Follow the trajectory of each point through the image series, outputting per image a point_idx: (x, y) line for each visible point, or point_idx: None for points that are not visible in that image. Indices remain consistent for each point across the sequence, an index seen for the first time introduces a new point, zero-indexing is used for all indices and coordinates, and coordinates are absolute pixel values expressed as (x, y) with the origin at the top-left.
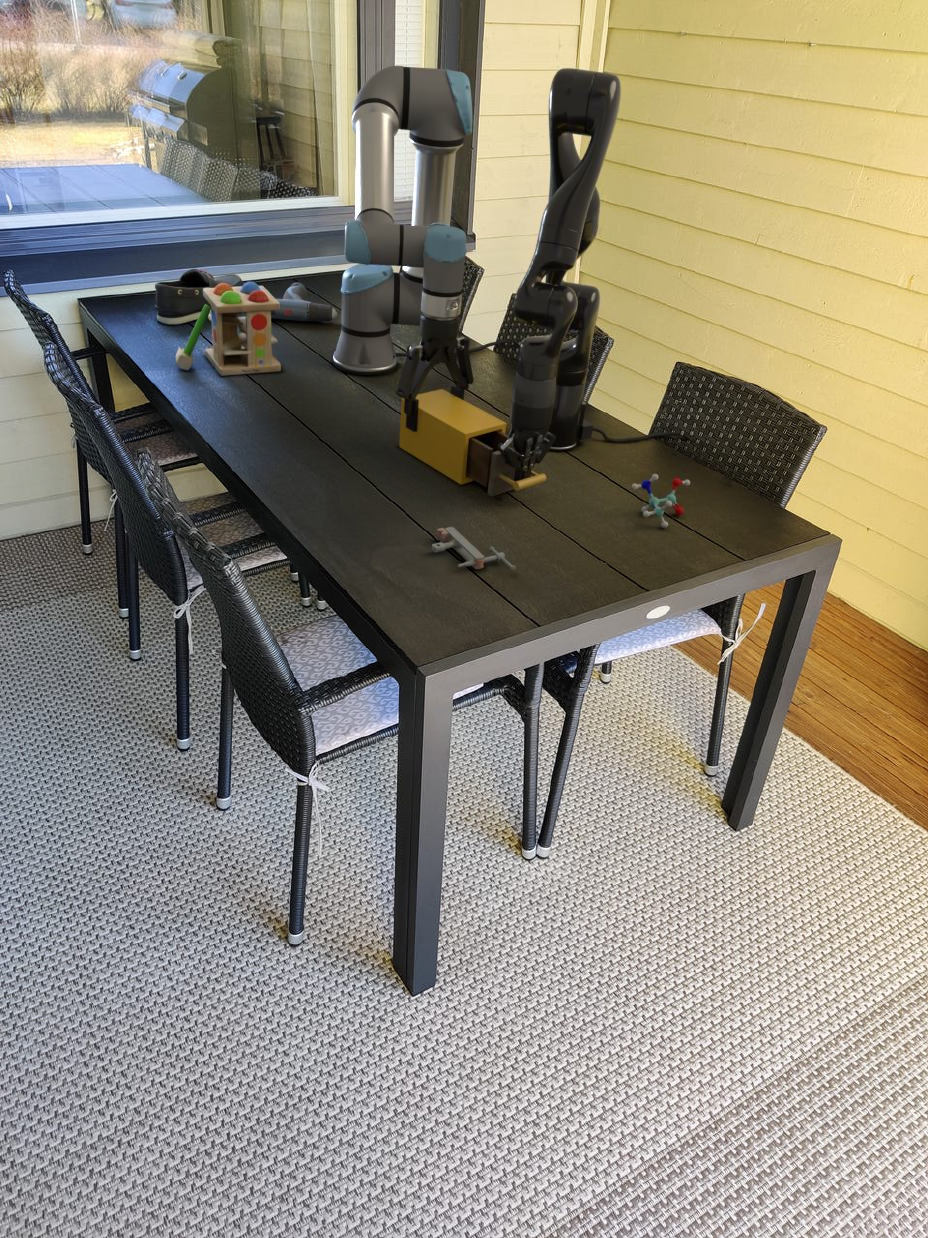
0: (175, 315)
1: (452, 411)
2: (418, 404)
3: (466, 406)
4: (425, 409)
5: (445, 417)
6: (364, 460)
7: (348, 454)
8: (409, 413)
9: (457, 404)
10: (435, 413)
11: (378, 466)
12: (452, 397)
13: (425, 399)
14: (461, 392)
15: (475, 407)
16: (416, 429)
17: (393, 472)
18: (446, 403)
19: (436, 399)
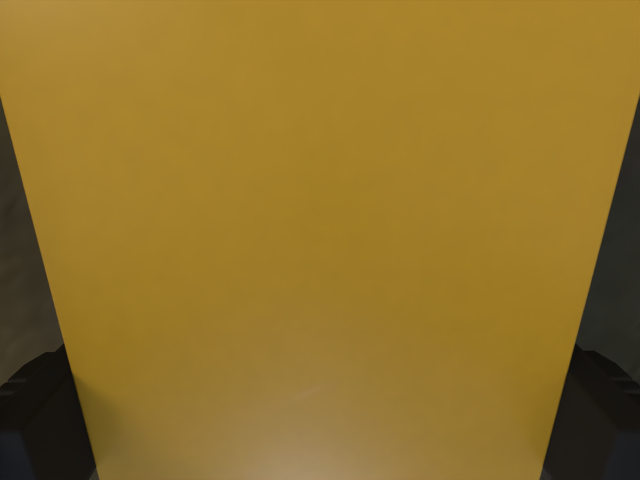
0: None
1: (347, 137)
2: (587, 392)
3: (109, 172)
4: (549, 311)
5: (554, 25)
6: (624, 295)
7: (627, 360)
8: (604, 361)
9: (177, 258)
10: (553, 184)
11: (627, 225)
12: (129, 399)
13: (378, 462)
14: (9, 406)
15: (18, 91)
16: None
17: (627, 145)
18: (266, 327)
19: (295, 426)
